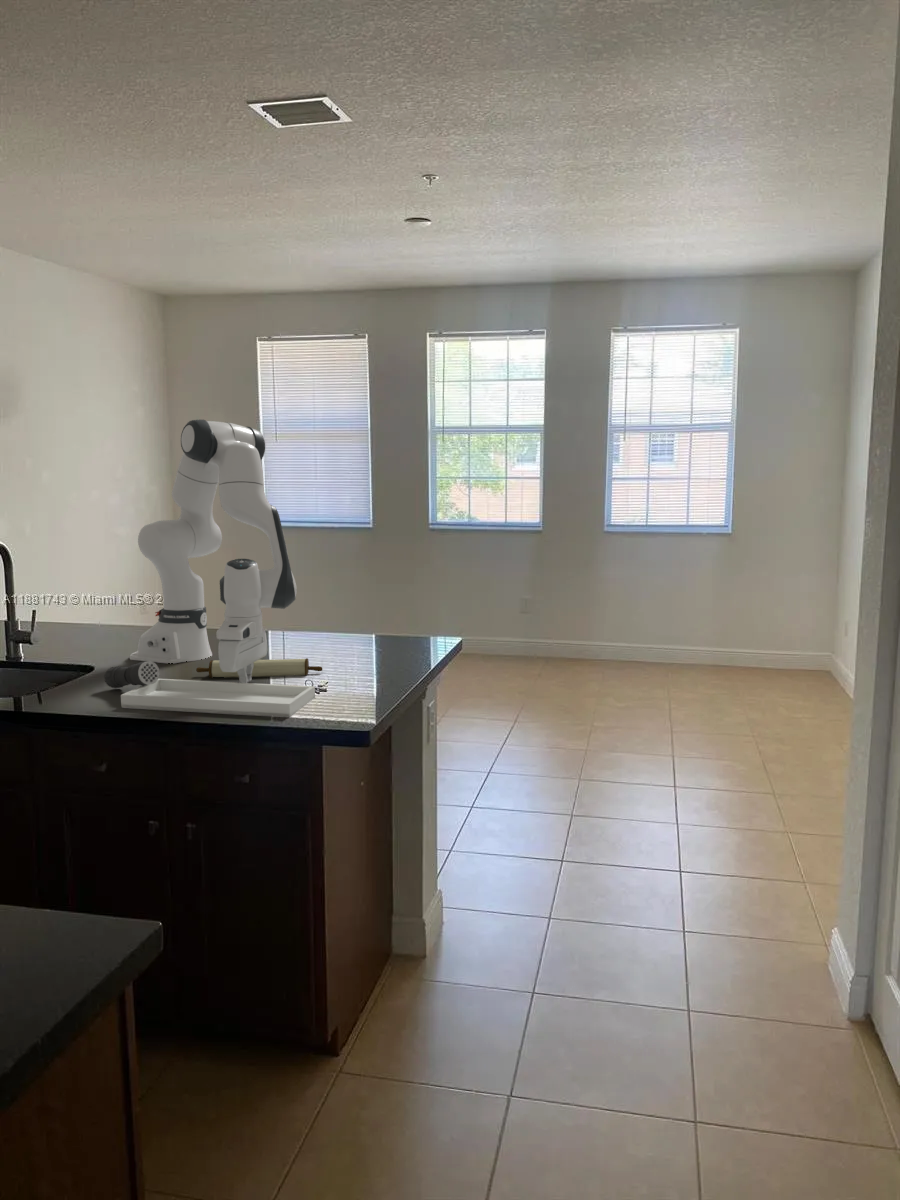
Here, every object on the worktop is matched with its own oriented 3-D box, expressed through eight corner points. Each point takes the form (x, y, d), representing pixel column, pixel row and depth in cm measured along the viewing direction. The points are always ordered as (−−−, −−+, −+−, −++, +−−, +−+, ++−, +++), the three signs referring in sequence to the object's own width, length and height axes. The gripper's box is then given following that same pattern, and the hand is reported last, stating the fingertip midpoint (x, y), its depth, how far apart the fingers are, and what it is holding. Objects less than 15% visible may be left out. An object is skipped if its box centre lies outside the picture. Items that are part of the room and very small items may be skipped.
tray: (121, 707, 196) (120, 694, 196) (158, 690, 212) (157, 678, 211) (289, 717, 188) (289, 704, 188) (315, 698, 204) (314, 686, 204)
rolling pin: (194, 681, 222) (193, 662, 221) (198, 676, 227) (198, 658, 226) (321, 679, 224) (321, 660, 223) (323, 674, 230) (322, 656, 229)
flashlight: (97, 678, 210) (111, 661, 213) (113, 693, 212) (126, 676, 216) (135, 673, 200) (148, 656, 204) (150, 689, 203) (163, 672, 207)
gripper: (249, 619, 222) (251, 672, 224) (212, 633, 202) (214, 691, 204) (272, 619, 221) (274, 673, 223) (238, 634, 201) (240, 692, 203)
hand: (245, 682), depth 213 cm, fingers closed
